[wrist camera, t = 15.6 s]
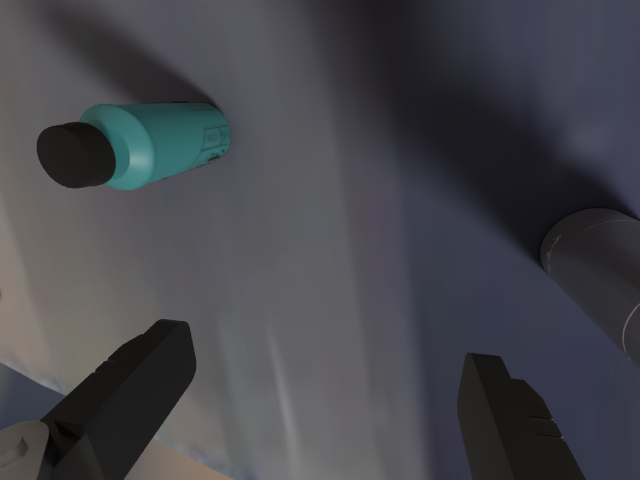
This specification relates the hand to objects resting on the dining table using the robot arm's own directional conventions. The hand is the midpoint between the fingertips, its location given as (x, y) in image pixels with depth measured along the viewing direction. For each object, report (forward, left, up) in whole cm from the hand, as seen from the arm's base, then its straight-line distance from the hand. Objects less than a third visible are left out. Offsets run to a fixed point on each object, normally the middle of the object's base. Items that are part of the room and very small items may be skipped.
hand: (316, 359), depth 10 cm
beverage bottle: (+18, -4, -30) cm, 35 cm away
